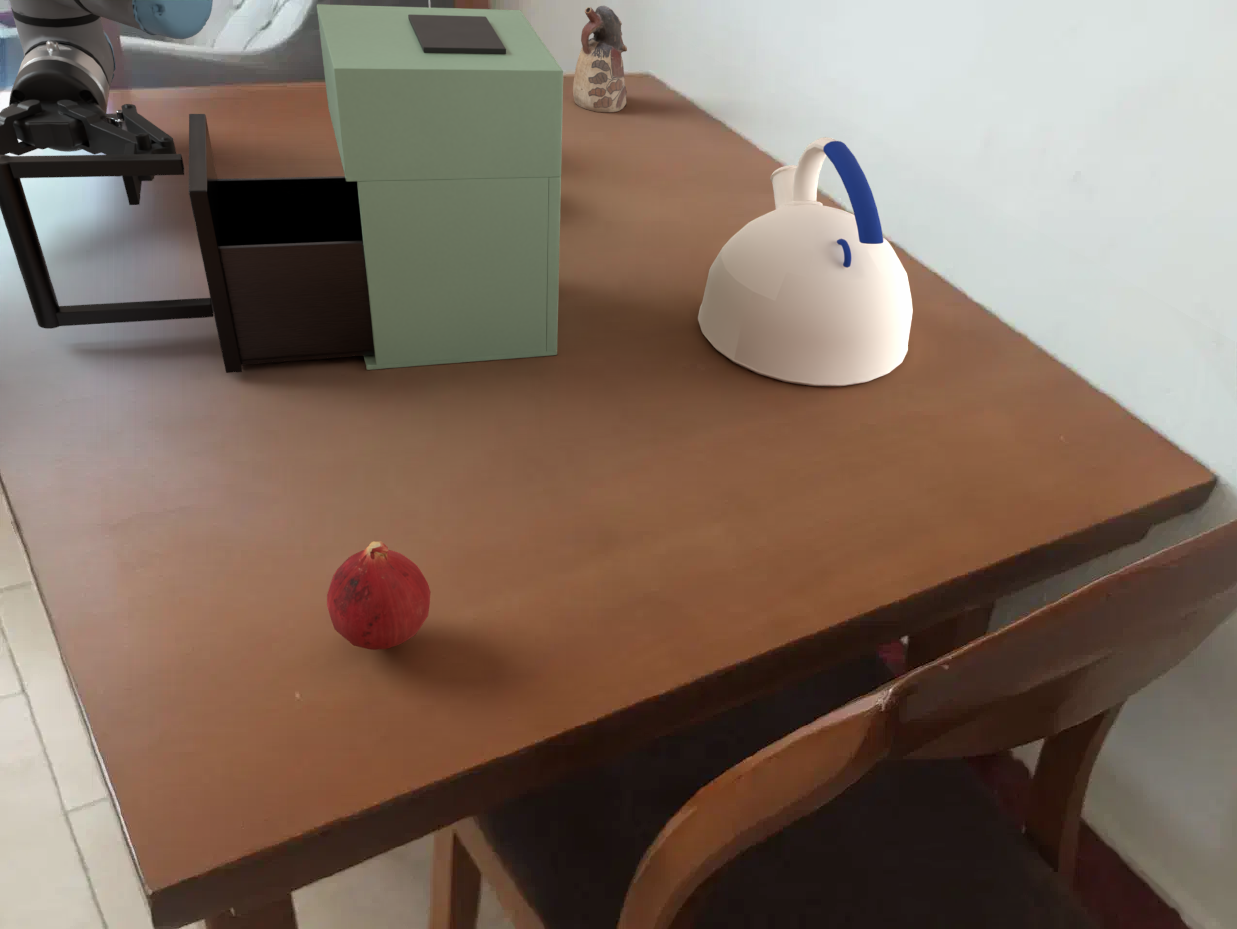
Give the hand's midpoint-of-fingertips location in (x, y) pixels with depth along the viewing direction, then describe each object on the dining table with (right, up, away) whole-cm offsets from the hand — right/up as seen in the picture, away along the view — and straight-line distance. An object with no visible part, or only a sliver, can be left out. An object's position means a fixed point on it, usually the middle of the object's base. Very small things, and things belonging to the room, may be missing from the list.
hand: (37, 192), depth 88 cm
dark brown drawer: (+15, -10, +3) cm, 18 cm away
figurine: (+39, +30, +56) cm, 75 cm away
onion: (+35, -35, -21) cm, 54 cm away
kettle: (+63, -8, +15) cm, 66 cm away
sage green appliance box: (+31, -8, +9) cm, 34 cm away
